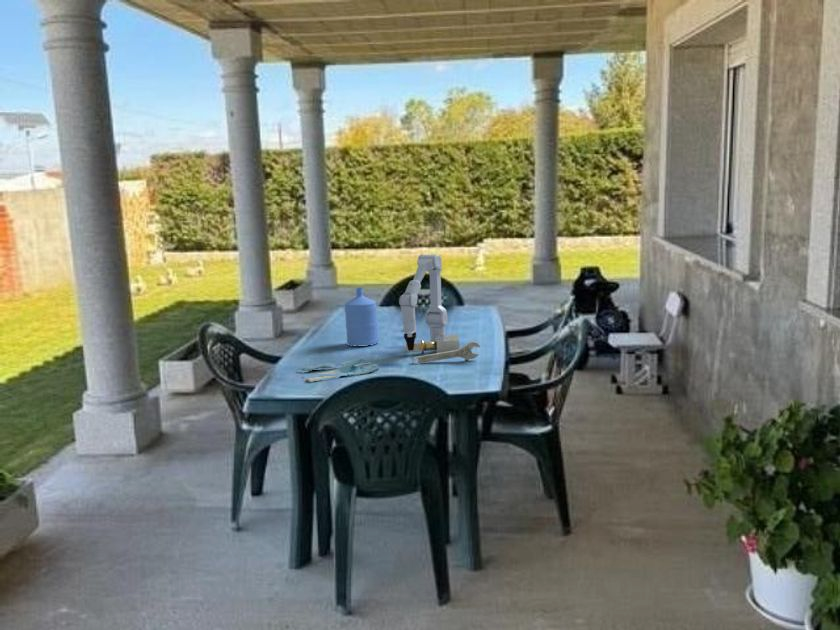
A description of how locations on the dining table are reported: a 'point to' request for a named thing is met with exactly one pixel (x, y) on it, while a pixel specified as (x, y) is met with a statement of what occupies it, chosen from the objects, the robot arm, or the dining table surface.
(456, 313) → the dining table surface
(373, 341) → the water jug
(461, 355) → the wrench
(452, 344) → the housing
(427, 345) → the gold trophy
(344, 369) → the rubber gloves
